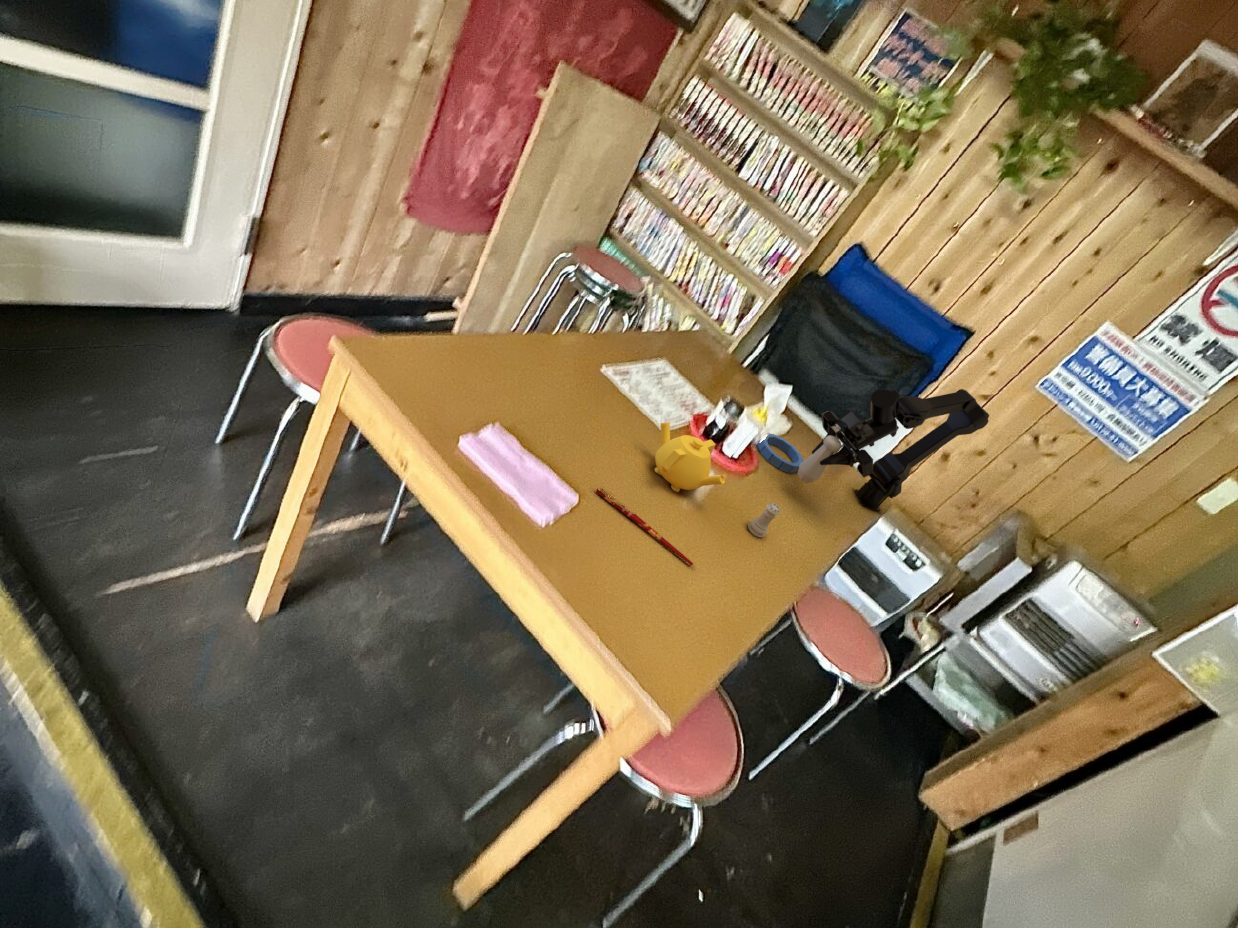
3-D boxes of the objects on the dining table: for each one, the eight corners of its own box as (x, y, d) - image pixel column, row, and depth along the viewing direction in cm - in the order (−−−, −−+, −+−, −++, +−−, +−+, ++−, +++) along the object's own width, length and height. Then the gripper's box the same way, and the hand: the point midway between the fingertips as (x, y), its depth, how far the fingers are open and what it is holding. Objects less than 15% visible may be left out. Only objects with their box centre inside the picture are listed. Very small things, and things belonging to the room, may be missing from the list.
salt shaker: (813, 489, 185) (845, 451, 178) (793, 477, 184) (825, 438, 178) (814, 478, 190) (845, 440, 183) (795, 466, 189) (825, 428, 183)
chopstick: (690, 567, 145) (692, 564, 145) (595, 491, 149) (597, 488, 149) (693, 563, 147) (696, 560, 147) (599, 488, 151) (601, 484, 150)
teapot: (724, 499, 171) (751, 464, 166) (682, 517, 158) (710, 480, 152) (666, 442, 179) (689, 406, 173) (621, 454, 165) (645, 416, 159)
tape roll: (791, 450, 210) (796, 443, 208) (803, 478, 200) (808, 472, 198) (753, 434, 205) (758, 427, 204) (763, 463, 195) (769, 456, 194)
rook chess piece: (753, 538, 165) (774, 513, 161) (743, 523, 168) (763, 498, 163) (767, 538, 168) (787, 514, 164) (756, 523, 170) (776, 499, 166)
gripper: (850, 384, 183) (794, 413, 182) (896, 435, 171) (835, 465, 171) (851, 413, 192) (797, 440, 191) (894, 463, 180) (837, 492, 179)
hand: (816, 458), depth 183 cm, fingers closed on salt shaker, 3 cm apart
